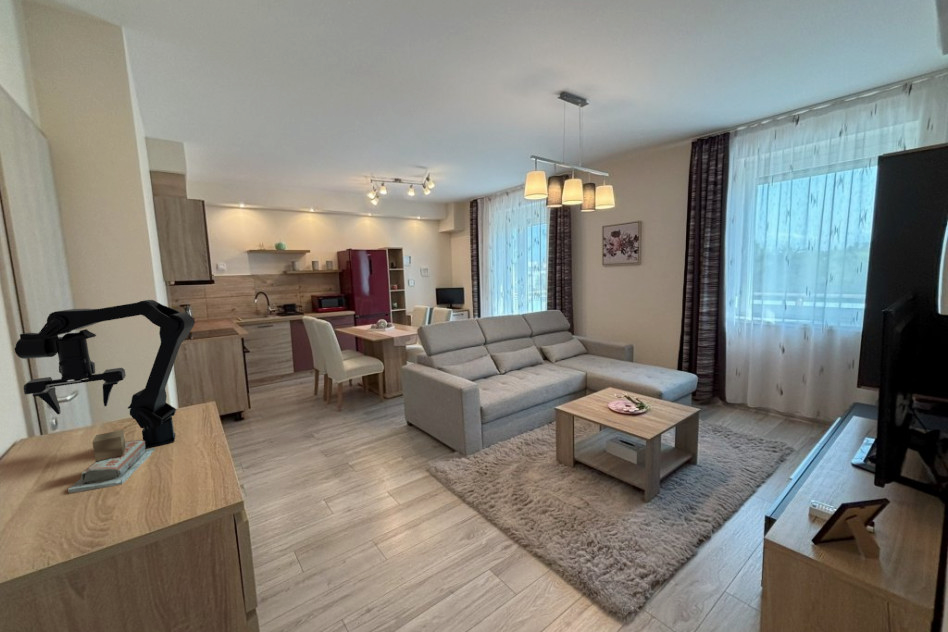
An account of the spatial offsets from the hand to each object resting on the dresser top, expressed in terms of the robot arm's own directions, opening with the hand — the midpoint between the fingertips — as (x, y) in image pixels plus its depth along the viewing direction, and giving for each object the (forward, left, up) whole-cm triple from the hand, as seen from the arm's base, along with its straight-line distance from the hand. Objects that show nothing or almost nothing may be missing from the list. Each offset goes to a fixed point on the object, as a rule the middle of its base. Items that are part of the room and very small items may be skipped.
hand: (83, 409), depth 104 cm
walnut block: (-7, +19, -8) cm, 22 cm away
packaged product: (-8, +19, -13) cm, 24 cm away
